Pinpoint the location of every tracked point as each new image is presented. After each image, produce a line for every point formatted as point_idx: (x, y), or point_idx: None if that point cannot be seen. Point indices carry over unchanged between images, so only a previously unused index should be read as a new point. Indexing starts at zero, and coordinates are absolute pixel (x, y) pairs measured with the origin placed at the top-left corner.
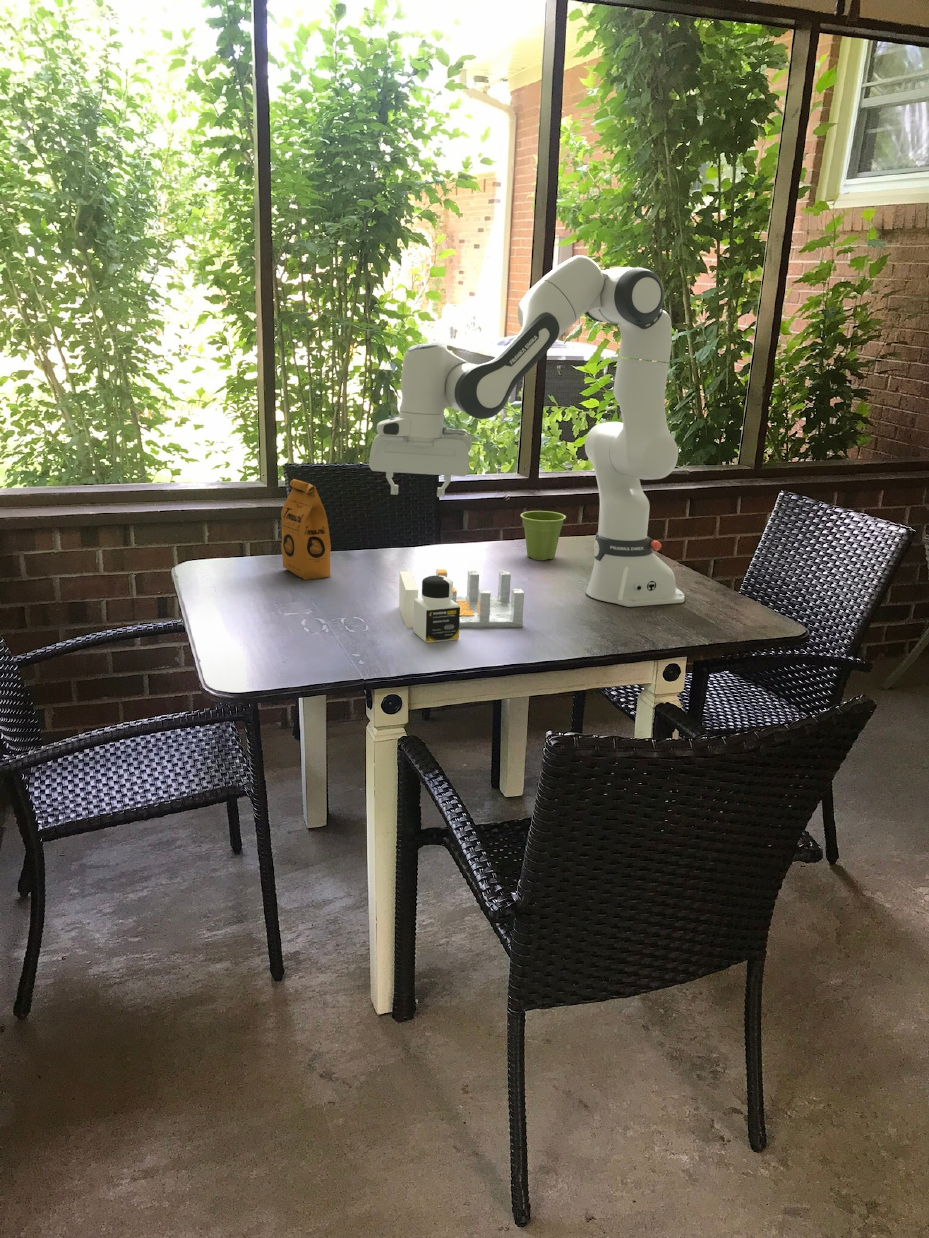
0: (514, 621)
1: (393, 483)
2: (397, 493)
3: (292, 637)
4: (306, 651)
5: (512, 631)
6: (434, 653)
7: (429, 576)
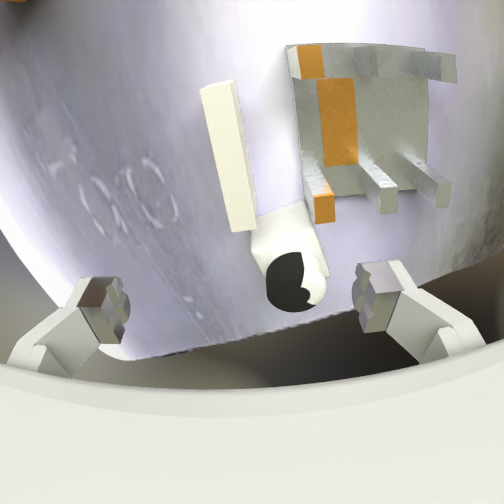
0: (412, 188)
1: (84, 338)
2: (127, 312)
3: (97, 256)
4: (131, 293)
5: (401, 202)
6: None
7: (281, 286)
